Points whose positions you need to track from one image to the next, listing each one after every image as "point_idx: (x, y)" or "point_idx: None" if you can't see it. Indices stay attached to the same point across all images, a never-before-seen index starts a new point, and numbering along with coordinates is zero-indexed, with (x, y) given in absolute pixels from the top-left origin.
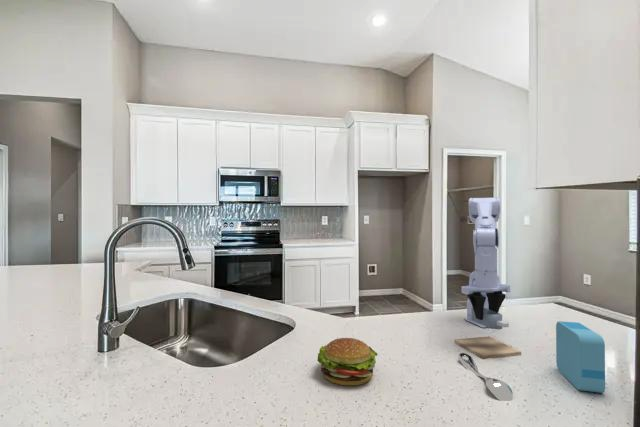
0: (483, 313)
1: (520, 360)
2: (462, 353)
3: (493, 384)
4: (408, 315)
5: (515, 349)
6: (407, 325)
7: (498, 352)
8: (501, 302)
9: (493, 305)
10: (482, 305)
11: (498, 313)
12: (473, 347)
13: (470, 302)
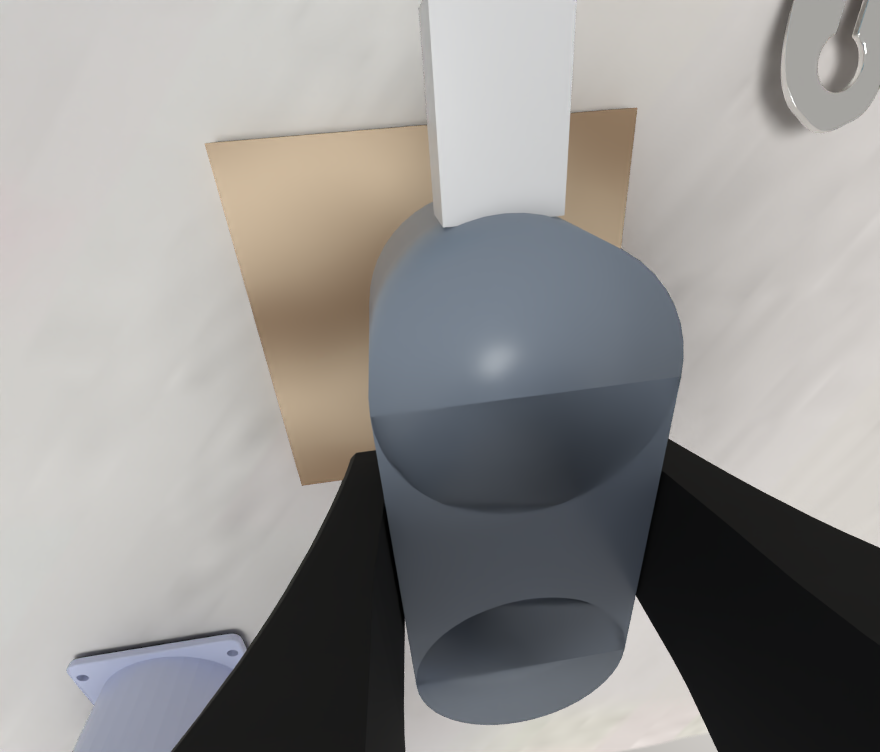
0: (657, 466)
1: (301, 6)
2: (826, 124)
3: None
4: (556, 748)
5: (232, 208)
6: (661, 646)
7: None
8: (216, 739)
9: (390, 674)
10: (846, 576)
11: (399, 430)
12: None
13: None
